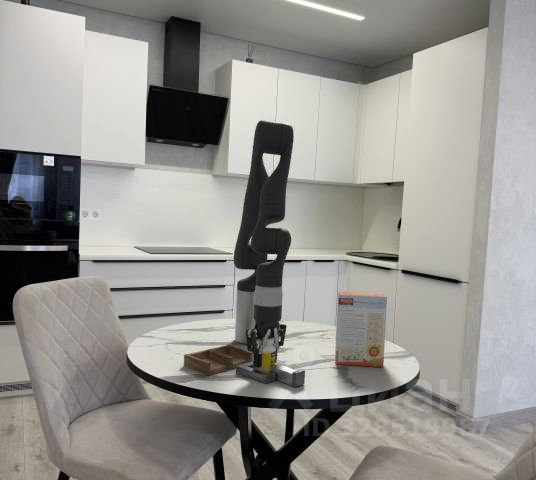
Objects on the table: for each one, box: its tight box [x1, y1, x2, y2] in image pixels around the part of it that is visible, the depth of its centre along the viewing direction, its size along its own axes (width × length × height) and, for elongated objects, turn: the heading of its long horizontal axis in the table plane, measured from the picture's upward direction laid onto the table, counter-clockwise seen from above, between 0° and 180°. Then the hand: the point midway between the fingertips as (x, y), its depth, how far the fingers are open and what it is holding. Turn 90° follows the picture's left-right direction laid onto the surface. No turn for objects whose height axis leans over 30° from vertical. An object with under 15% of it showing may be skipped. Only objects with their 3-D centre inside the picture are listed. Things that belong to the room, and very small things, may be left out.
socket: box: [235, 361, 295, 385], centre depth 135 cm, size 11×11×2 cm
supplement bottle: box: [255, 338, 276, 373], centre depth 135 cm, size 5×5×10 cm
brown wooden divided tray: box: [183, 344, 253, 376], centre depth 142 cm, size 17×10×3 cm, turn 137°
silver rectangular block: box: [272, 365, 306, 388], centre depth 130 cm, size 4×8×4 cm, turn 48°
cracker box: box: [334, 291, 388, 368], centre depth 149 cm, size 14×6×21 cm, turn 84°
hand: (265, 364), depth 135 cm, fingers closed on supplement bottle, 5 cm apart
